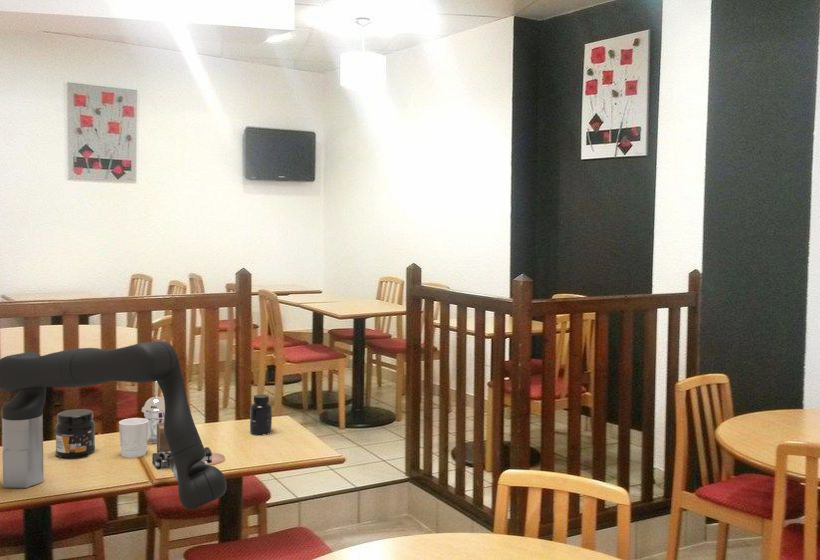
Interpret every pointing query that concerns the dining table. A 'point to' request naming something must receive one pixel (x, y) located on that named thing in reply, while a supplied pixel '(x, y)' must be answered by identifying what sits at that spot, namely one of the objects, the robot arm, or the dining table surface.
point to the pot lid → (216, 459)
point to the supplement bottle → (260, 415)
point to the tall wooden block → (162, 440)
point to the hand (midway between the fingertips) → (177, 450)
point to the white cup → (133, 437)
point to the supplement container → (75, 433)
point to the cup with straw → (154, 414)
